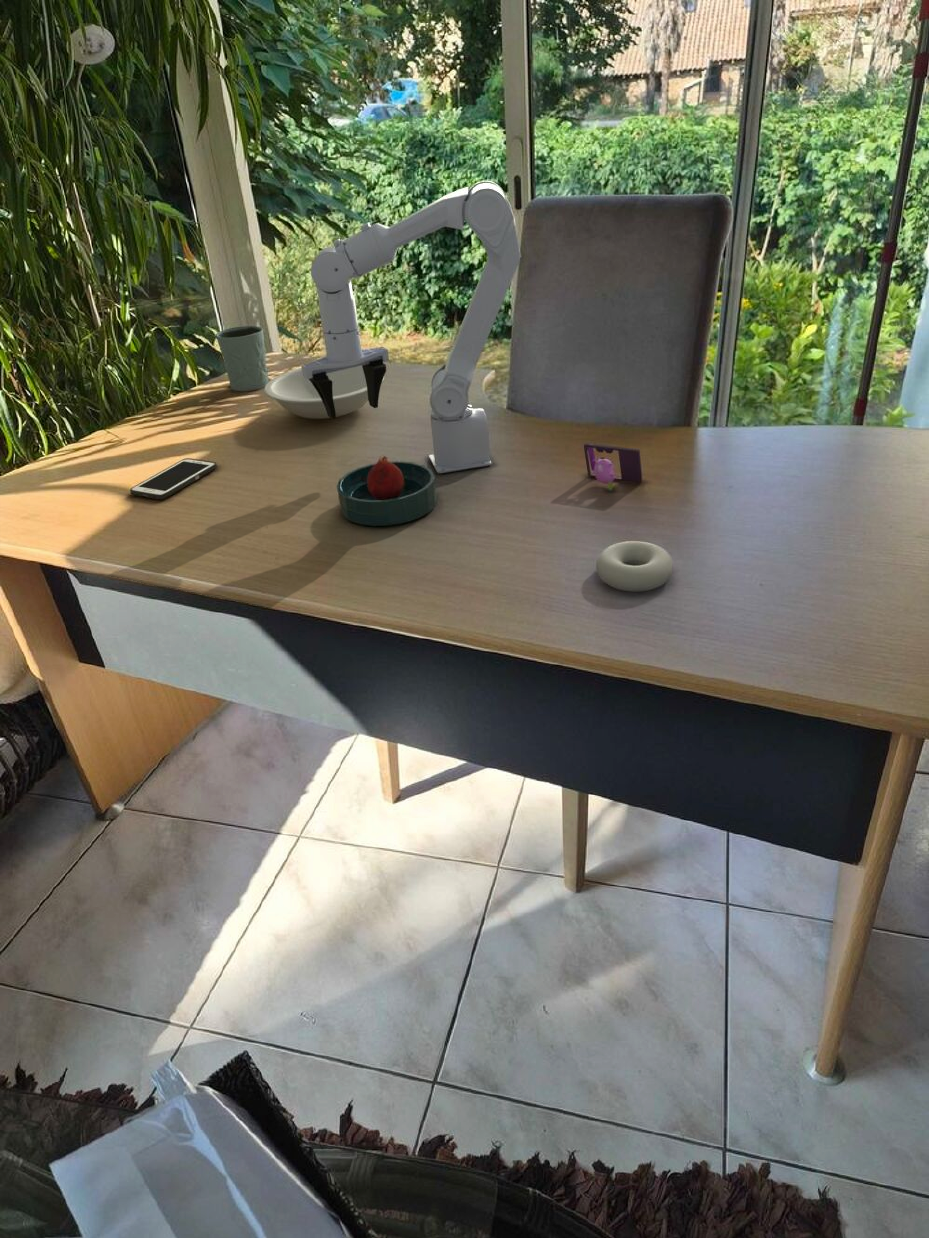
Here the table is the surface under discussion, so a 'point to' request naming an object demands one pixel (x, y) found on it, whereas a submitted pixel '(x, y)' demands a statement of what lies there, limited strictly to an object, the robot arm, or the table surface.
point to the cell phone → (173, 478)
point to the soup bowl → (306, 401)
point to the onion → (385, 480)
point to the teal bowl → (404, 508)
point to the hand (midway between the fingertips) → (353, 411)
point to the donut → (634, 566)
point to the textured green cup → (244, 357)
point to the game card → (604, 467)
